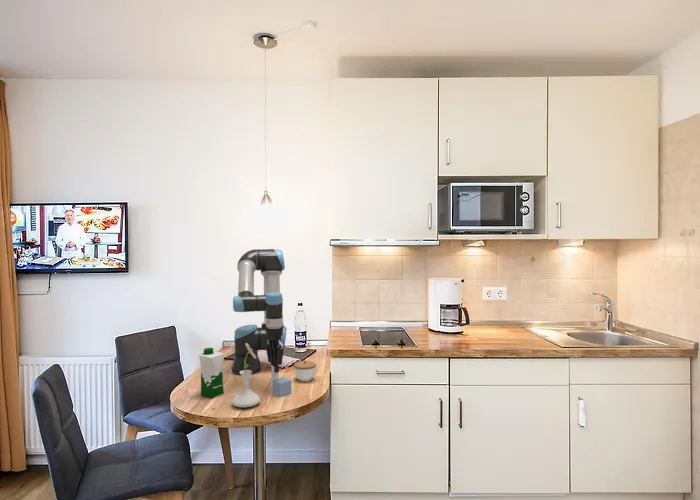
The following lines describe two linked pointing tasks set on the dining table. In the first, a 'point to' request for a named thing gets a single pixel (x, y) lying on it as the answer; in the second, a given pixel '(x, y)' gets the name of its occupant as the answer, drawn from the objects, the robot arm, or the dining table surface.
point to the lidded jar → (305, 370)
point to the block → (281, 387)
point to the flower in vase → (246, 388)
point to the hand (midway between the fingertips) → (275, 379)
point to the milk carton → (211, 373)
